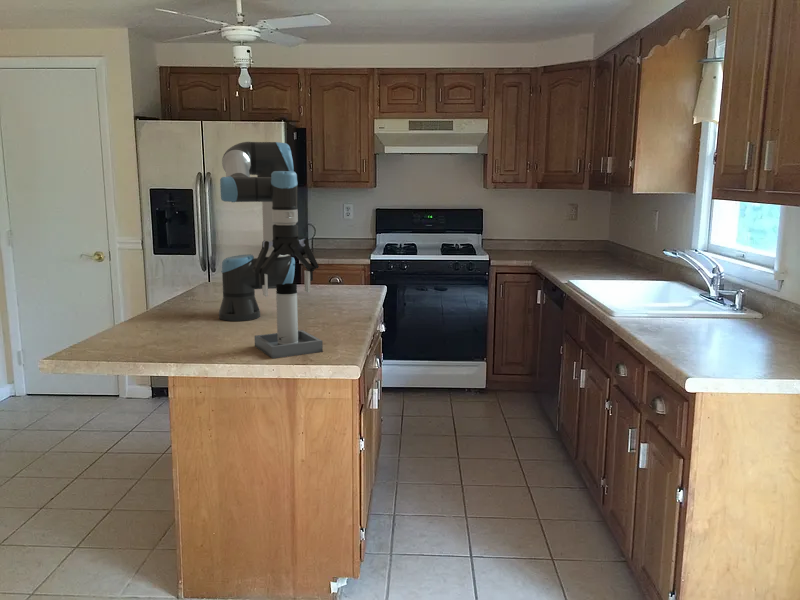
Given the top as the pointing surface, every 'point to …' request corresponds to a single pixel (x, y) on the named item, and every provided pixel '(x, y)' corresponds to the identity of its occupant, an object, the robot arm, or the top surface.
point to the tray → (288, 345)
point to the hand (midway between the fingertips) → (286, 293)
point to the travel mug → (287, 313)
